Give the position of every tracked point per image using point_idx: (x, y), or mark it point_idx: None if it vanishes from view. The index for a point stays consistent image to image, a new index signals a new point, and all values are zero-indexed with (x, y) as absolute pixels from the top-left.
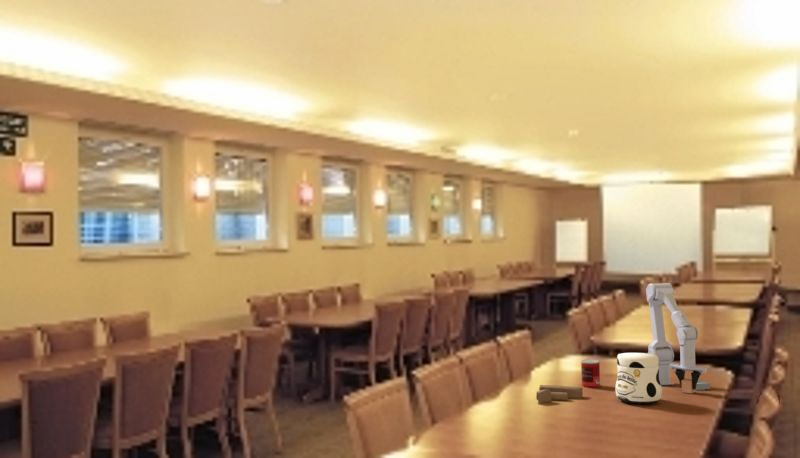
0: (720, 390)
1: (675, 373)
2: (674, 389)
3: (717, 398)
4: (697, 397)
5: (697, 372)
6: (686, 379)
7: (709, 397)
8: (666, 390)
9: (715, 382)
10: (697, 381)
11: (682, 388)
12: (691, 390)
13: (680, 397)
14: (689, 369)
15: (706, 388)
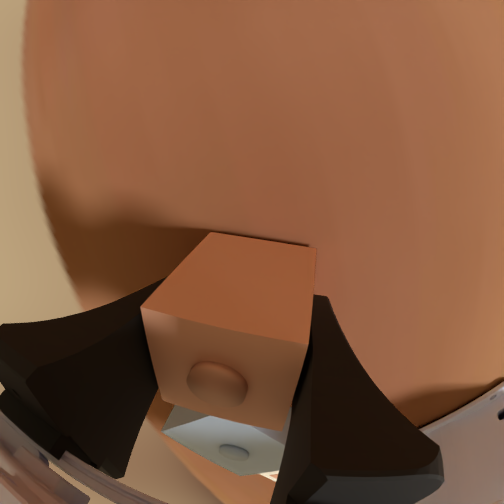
0: None
1: (432, 442)
2: (395, 349)
3: (39, 178)
4: (126, 111)
5: (13, 401)
6: (232, 375)
7: (71, 176)
8: (461, 283)
9: (221, 480)
10: (231, 452)
11: (305, 266)
12: (199, 245)
13: (261, 5)
14: (10, 460)
15: None
